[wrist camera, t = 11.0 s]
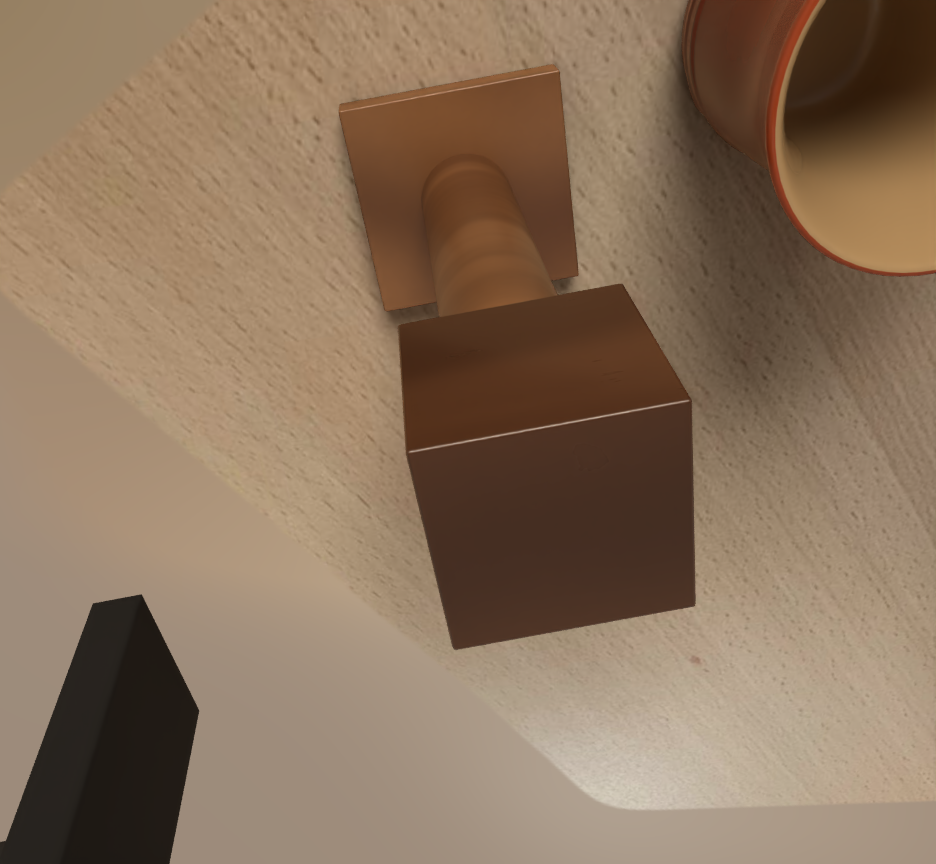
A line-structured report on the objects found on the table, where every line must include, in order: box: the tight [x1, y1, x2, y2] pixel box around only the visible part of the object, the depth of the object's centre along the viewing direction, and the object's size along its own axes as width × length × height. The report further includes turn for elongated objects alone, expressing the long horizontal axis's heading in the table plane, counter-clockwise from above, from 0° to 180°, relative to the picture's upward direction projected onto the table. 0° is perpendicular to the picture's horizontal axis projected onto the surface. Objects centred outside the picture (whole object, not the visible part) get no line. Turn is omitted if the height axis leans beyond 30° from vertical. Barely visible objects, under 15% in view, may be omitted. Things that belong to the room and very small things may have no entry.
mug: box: [682, 0, 936, 277], centre depth 24 cm, size 12×9×10 cm
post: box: [339, 64, 578, 317], centre depth 24 cm, size 7×7×14 cm
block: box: [398, 284, 696, 650], centre depth 17 cm, size 4×4×4 cm
